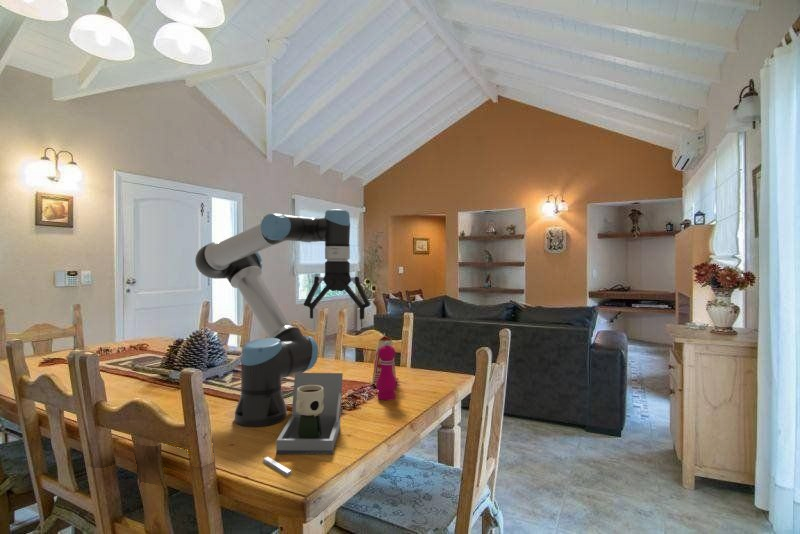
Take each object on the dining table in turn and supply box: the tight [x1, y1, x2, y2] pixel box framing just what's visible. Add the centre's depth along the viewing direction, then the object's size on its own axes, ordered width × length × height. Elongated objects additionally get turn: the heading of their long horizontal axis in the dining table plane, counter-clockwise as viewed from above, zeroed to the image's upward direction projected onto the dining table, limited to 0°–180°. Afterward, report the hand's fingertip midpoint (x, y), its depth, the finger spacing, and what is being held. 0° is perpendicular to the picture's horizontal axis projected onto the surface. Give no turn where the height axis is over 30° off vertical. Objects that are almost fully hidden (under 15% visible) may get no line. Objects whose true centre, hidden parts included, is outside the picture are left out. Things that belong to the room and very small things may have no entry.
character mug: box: [296, 385, 324, 439], centre depth 117 cm, size 11×7×13 cm, turn 152°
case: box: [275, 372, 343, 455], centre depth 120 cm, size 14×22×15 cm, turn 1°
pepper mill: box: [375, 341, 397, 401], centre depth 154 cm, size 7×7×20 cm
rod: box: [263, 456, 292, 477], centre depth 102 cm, size 10×1×1 cm, turn 48°
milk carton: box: [371, 332, 397, 385], centre depth 173 cm, size 9×9×20 cm
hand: (337, 329), depth 134 cm, fingers open, 13 cm apart
